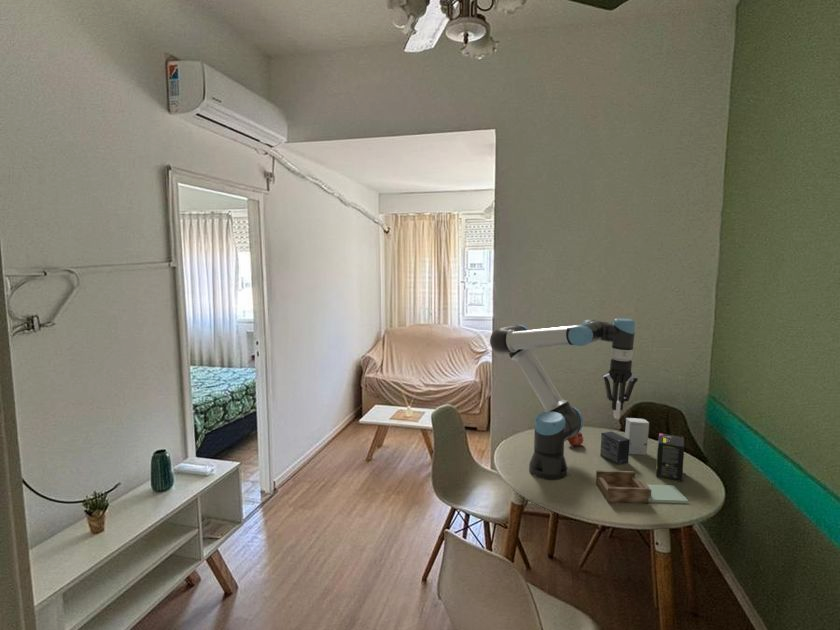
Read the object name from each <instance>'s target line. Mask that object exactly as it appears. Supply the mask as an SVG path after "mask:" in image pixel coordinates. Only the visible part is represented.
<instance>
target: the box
mask: <svg viewBox="0 0 840 630" xmlns="http://www.w3.org/2000/svg"><path fill="white" fill-rule="evenodd" d="M635 474H636V472H635V471H634V470H601V469H600V470H596V472H595V485H596V487H597V488H598V490H599V491H600V492H601V495H602V496H603V497H604V499H605V500H606V503H608V504H635V505H637V504H640V505H643V504H644V505H645V504H646V505H649V503H650V502H649V488H644V487H643V485H642V484H641V483H640V482H639V481H640V480H639V479H638V478H637V477H636V476H635Z"/></svg>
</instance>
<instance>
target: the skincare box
mask: <svg viewBox="0 0 840 630" xmlns="http://www.w3.org/2000/svg"><path fill="white" fill-rule="evenodd" d="M649 430H650V422H649V421H648V420H647V419H645V418H635V417H625V431H624V437H625V438H627V439H630V444H629V455H643V456H646V455H647V454H648V453H647V452H648V440H649Z"/></svg>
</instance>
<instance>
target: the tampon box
mask: <svg viewBox="0 0 840 630" xmlns="http://www.w3.org/2000/svg"><path fill="white" fill-rule="evenodd" d="M656 452H657V453H656V454H657V455H656V467H655V476H656V477H657V478H662V479H667V480H673V481H676V480H677V482H681V481H682V482H683V475H684V474H683V473H684V472H683V471H684V469H683V468H684V457H685V437H684V436H679V435H673V434H666V433H662V432H660V433H659V435H658V441H657V451H656Z"/></svg>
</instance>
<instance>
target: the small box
mask: <svg viewBox="0 0 840 630" xmlns="http://www.w3.org/2000/svg"><path fill="white" fill-rule="evenodd" d="M600 438H601V440H600V454H599V455H600V457H602V458H603V459H606V460H608V461H610V462H611V463H612V464H613V463H614V464H615V465H617V466H619V465H624V464H628V463H629V458H630V457H629V456H630V454H629V444H630V439H627V438H625V436H623V435H620V434H618V433H616V432H614V431H606V432H601V437H600Z"/></svg>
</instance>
